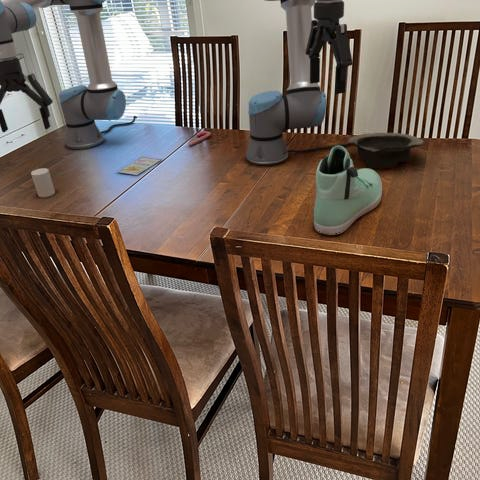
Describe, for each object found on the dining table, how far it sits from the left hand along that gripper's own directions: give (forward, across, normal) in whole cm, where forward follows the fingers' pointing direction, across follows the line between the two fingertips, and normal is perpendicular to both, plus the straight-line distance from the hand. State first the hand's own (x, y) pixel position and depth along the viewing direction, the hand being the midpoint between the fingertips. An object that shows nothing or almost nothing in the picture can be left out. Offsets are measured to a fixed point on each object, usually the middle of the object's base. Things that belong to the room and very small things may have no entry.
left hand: (26, 129), depth 151 cm
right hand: (-10, +92, -15) cm, 93 cm away
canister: (+22, 0, 0) cm, 22 cm away
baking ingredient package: (+22, +29, +18) cm, 41 cm away
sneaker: (+22, +97, -24) cm, 103 cm away
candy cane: (+22, +49, +43) cm, 69 cm away
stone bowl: (+22, +116, +10) cm, 119 cm away
